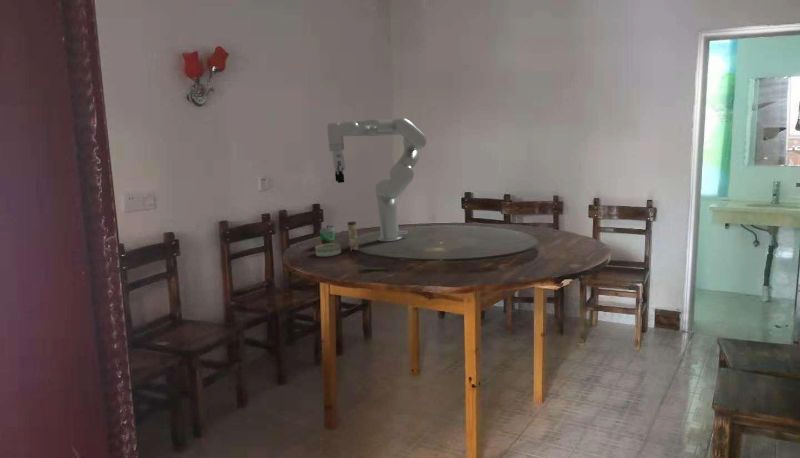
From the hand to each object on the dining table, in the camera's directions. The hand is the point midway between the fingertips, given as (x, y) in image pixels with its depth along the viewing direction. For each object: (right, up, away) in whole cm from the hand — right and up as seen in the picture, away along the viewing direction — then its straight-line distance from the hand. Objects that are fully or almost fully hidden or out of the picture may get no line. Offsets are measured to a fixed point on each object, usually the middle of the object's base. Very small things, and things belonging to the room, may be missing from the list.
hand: (340, 181), depth 316 cm
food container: (-6, -33, +13) cm, 36 cm away
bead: (-5, -36, -8) cm, 37 cm away
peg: (+8, -34, -5) cm, 35 cm away
